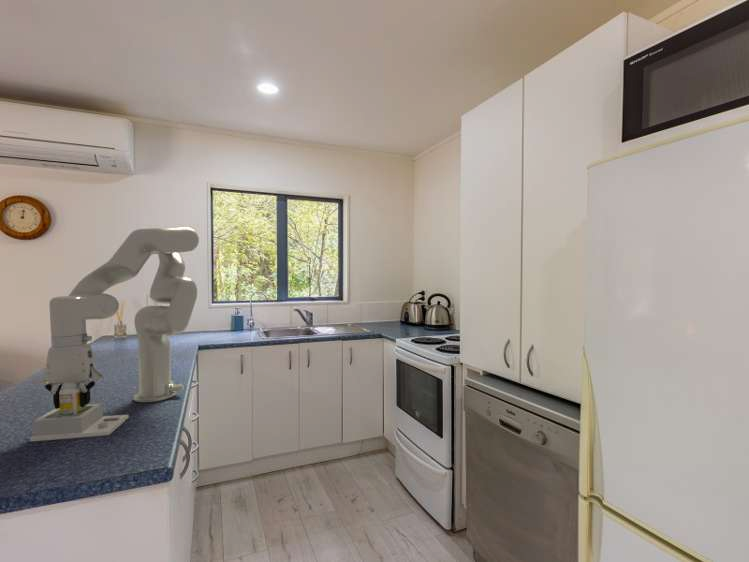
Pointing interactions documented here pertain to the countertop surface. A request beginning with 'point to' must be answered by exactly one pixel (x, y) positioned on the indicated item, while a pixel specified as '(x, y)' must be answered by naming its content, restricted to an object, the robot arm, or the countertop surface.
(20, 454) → the countertop surface
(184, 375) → the countertop surface
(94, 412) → the white holder tray
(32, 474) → the countertop surface
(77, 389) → the supplement bottle
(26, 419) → the countertop surface
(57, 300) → the robot arm
